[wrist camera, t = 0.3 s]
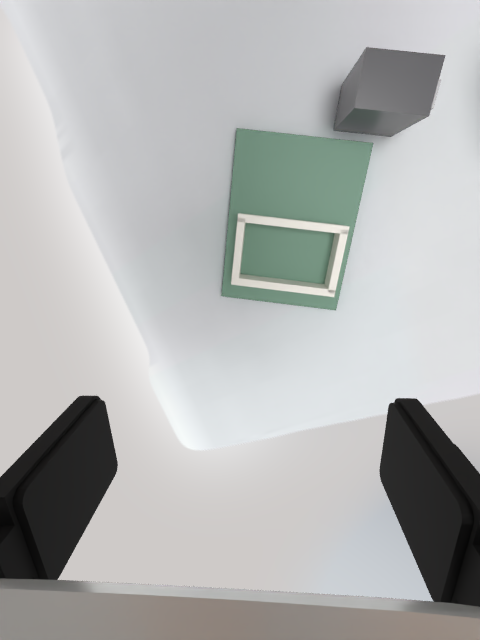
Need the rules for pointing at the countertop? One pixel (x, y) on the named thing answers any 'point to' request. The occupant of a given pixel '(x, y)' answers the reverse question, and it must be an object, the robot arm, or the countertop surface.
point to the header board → (292, 216)
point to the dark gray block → (388, 91)
